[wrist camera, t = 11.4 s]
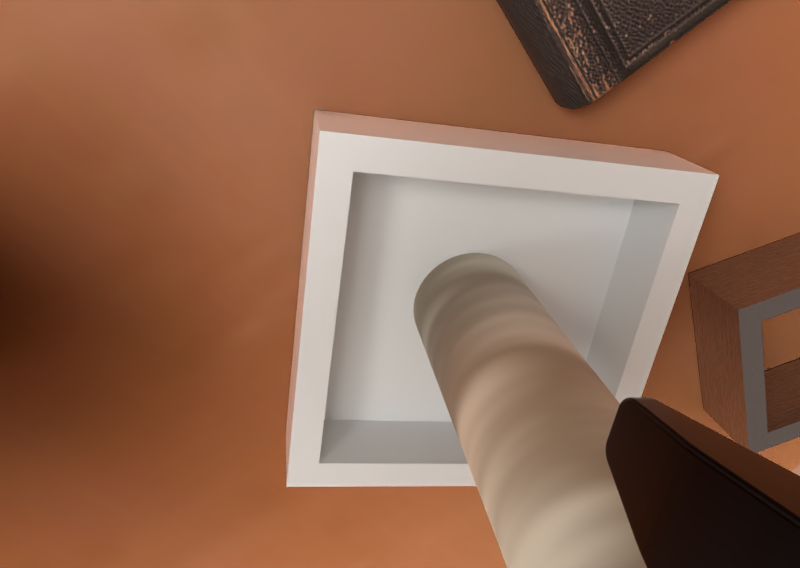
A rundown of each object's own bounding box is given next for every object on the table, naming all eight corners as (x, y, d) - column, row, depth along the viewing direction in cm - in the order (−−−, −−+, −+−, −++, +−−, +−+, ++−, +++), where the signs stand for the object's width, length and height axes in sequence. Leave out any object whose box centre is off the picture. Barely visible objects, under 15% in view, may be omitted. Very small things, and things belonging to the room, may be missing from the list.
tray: (286, 431, 24) (286, 486, 22) (314, 109, 20) (320, 130, 17) (577, 434, 27) (610, 485, 24) (666, 151, 22) (719, 174, 19)
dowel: (432, 369, 24) (573, 747, 12) (398, 277, 22) (526, 616, 10) (534, 332, 24) (775, 673, 12) (509, 236, 22) (765, 528, 10)
